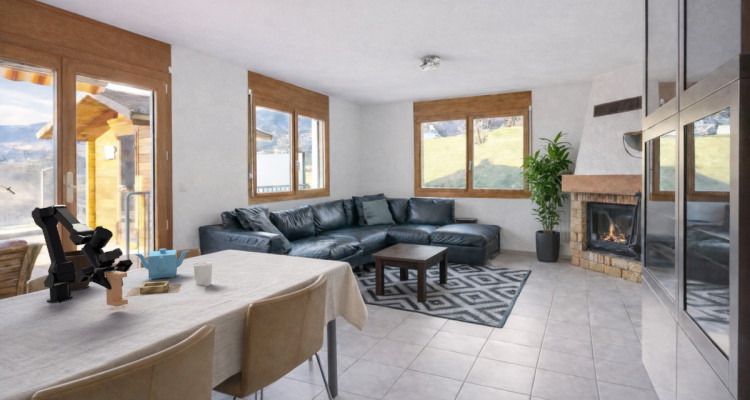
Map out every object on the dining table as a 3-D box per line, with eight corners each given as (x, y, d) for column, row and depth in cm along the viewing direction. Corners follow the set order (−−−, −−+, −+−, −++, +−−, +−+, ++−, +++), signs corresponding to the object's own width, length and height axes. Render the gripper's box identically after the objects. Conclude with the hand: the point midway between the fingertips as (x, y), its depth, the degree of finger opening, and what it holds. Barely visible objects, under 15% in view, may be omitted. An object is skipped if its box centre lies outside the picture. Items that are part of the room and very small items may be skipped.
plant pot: (106, 283, 190) (105, 250, 189) (80, 293, 175) (78, 256, 174) (77, 282, 192) (75, 249, 191) (48, 291, 177) (47, 255, 176)
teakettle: (164, 272, 213) (163, 244, 212) (192, 275, 207) (192, 247, 206) (132, 281, 196) (131, 251, 195) (162, 284, 189) (161, 253, 188)
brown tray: (124, 298, 168) (124, 290, 167) (132, 289, 181) (132, 282, 181) (178, 294, 174) (178, 286, 174) (181, 286, 187) (181, 278, 187)
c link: (106, 304, 152) (105, 273, 151) (117, 301, 155) (116, 270, 155) (117, 306, 149) (116, 274, 149) (127, 303, 153) (126, 272, 152)
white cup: (190, 285, 188) (190, 264, 187) (204, 282, 195) (204, 261, 194) (202, 288, 184) (201, 266, 184) (216, 284, 191) (215, 263, 190)
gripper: (79, 246, 144) (101, 280, 141) (129, 238, 162) (149, 268, 158) (66, 265, 148) (87, 299, 144) (116, 256, 165) (135, 286, 162)
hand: (116, 287), depth 152 cm, fingers closed on c link, 4 cm apart
